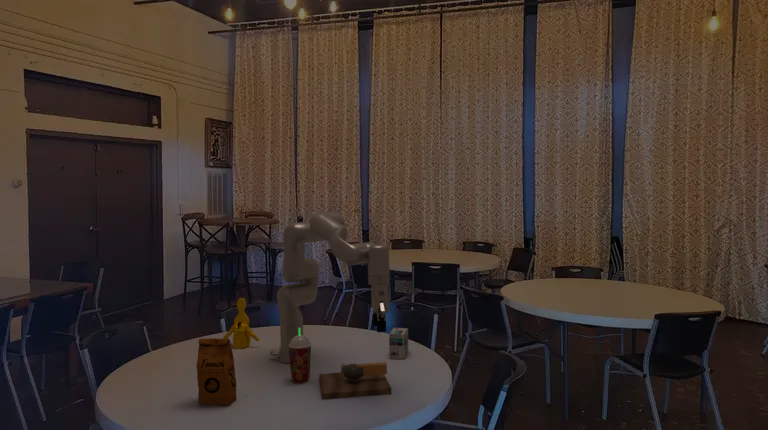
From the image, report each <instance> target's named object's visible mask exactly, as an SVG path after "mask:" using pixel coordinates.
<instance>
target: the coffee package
mask: <svg viewBox="0 0 768 430" xmlns="http://www.w3.org/2000/svg"><path fill="white" fill-rule="evenodd" d="M196 360H197V361H196V377H197V378H196V379H197V388H198V393H197V394H198V399H197V404H198V405H203V404H204V405H213V404H214V406H231V405H230V404H233V403H234V400H235V401H236V400H237V379H236V378H237V377H236V367H235V359H234V355H233V349H232V343H231V340H230V338H227V339H222V338H215V337H214V338H210V337H209V338H199V339H198V351H197V359H196ZM232 402H233V403H232Z"/></svg>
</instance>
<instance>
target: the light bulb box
mask: <svg viewBox="0 0 768 430" xmlns="http://www.w3.org/2000/svg"><path fill="white" fill-rule="evenodd" d="M388 333H389V334H388V339H389V340H388V341H389V343H388V344H389V346H388V347H389V359H391V360H405V359H406V358H407V356H408V354H409V328H407V327H406V328H405V327H404V328H403V327H393V328H392V330H390V332H388Z"/></svg>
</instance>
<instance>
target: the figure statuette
mask: <svg viewBox="0 0 768 430" xmlns="http://www.w3.org/2000/svg"><path fill="white" fill-rule="evenodd" d="M236 308H237V311H238V314H237V315H236V316H235V318H234V320H233V323H234V324H232V325H231V327H230V328H229V330H228V331H227V332H226V333H225V335H224V336H223V337H222V338H221V339H229V338H230V336H231V335H232V342H233V349H235V350H239V349H244V348H248V347H249V345H250V344H251V341H252V339H253V340H255V341H256V342H259V341H260V338H259V337H258V336H257V334H256V333H255V332H254V331H253V329H252V328H251V327H250V326H249V325H250V318H249V316H248V315H247V314H246V312H245V309H246V308H247V301H246V299H245V297H239V298H238V299H237V303H236Z"/></svg>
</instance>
